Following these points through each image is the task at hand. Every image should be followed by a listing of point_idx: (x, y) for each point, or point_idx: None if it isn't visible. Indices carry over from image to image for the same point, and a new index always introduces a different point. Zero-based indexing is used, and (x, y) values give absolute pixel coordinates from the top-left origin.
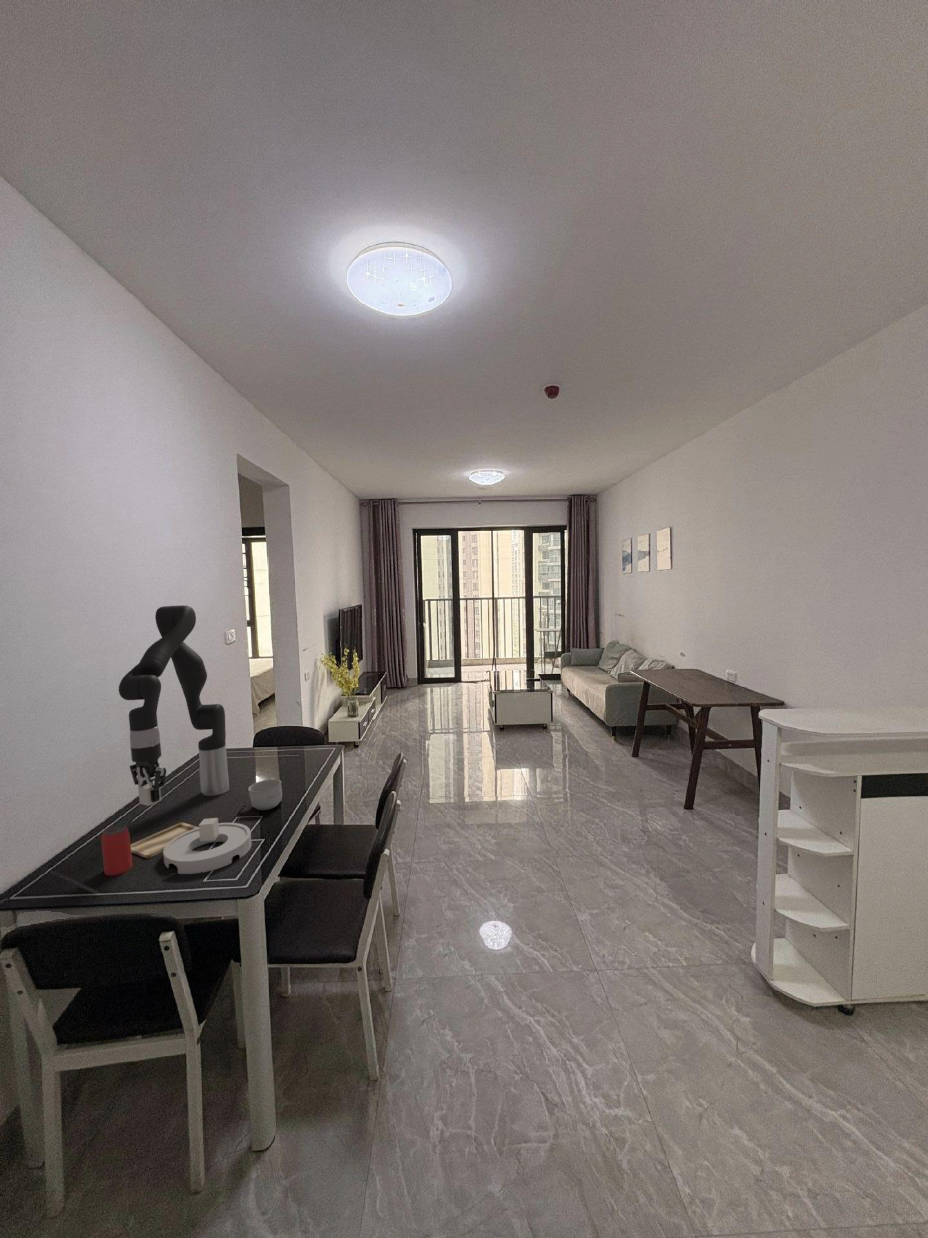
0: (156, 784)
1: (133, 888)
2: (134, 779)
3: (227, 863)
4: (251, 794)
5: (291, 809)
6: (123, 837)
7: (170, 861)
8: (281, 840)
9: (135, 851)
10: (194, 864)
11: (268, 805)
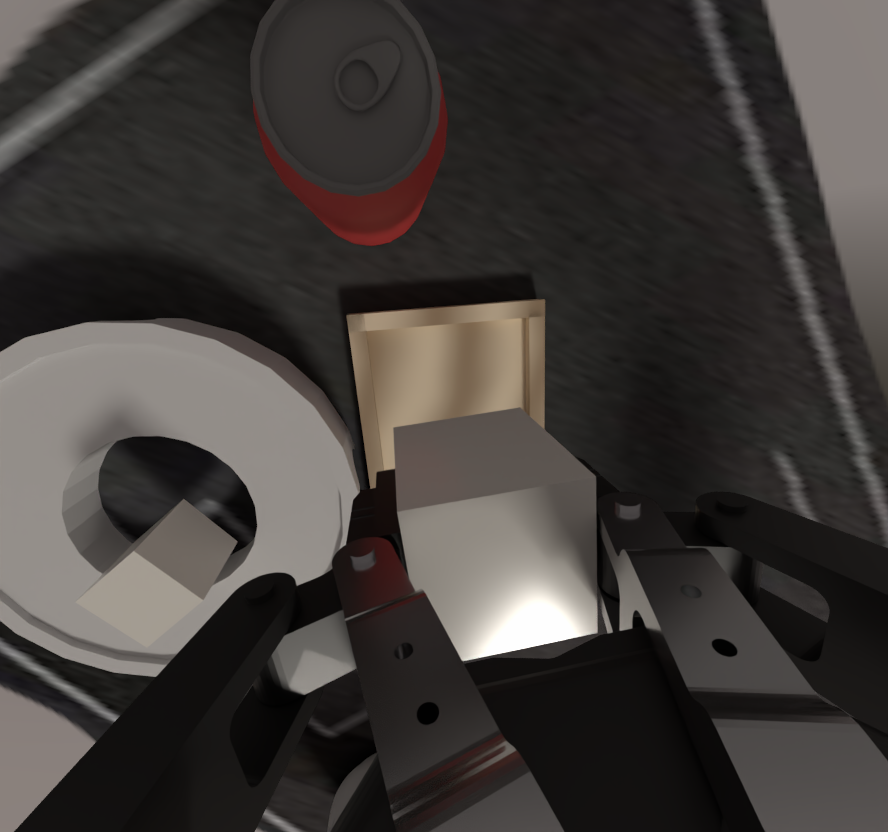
0: (191, 646)
1: (109, 128)
2: (796, 533)
3: None
4: None
5: (285, 808)
6: (259, 133)
7: (101, 321)
8: (38, 692)
9: (452, 307)
10: None
11: (338, 790)
